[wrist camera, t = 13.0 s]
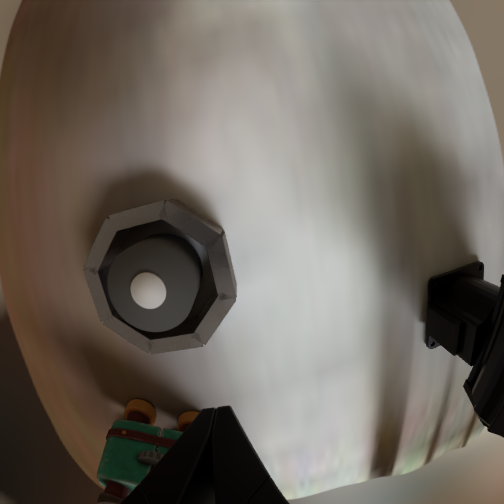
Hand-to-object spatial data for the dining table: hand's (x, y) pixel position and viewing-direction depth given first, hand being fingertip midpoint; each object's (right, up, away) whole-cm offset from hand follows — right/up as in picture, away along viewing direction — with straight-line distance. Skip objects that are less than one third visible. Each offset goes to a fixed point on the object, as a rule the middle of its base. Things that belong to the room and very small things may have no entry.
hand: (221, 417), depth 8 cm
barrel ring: (-5, +3, +11) cm, 13 cm away
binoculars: (-7, -12, +15) cm, 20 cm away
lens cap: (-5, +4, +11) cm, 13 cm away
